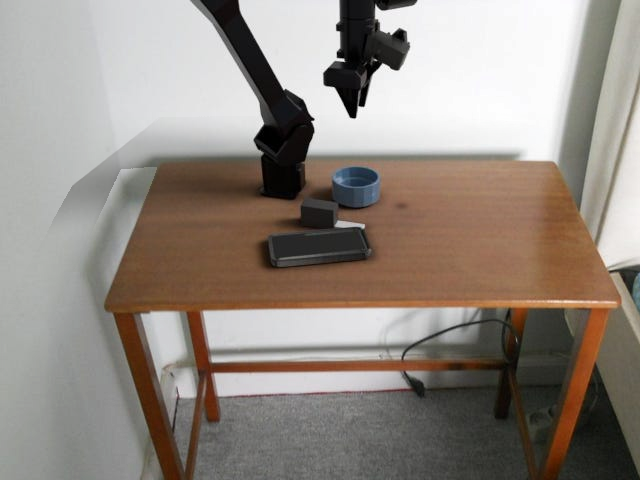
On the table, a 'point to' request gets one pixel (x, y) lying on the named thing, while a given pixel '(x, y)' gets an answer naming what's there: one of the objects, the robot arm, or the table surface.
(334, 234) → the phone
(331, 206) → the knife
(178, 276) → the table surface
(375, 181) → the bowl
